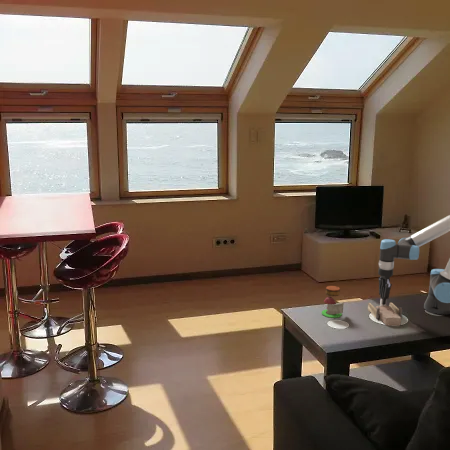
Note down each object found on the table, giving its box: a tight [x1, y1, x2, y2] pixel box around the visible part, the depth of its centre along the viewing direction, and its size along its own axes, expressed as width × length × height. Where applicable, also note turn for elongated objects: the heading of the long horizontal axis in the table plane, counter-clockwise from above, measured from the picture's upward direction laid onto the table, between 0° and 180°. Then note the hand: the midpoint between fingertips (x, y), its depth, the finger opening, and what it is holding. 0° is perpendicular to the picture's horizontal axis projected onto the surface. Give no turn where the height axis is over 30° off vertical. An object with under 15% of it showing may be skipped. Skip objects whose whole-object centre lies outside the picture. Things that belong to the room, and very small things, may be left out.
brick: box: [374, 305, 402, 327], centre depth 262 cm, size 17×8×5 cm, turn 3°
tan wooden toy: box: [367, 302, 403, 320], centre depth 268 cm, size 14×13×6 cm
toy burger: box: [321, 285, 345, 319], centre depth 267 cm, size 12×13×15 cm
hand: (382, 309), depth 271 cm, fingers closed
